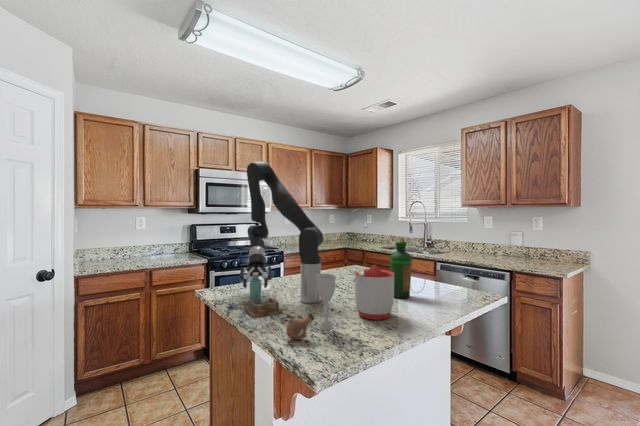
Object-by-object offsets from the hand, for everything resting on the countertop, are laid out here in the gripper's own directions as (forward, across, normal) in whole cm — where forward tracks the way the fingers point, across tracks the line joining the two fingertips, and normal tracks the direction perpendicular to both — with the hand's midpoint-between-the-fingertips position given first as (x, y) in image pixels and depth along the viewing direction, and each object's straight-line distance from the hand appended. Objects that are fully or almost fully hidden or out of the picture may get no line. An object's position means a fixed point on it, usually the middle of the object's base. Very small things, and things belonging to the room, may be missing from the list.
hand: (255, 287), depth 139 cm
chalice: (+28, +26, -18) cm, 43 cm away
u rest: (+14, +4, -4) cm, 15 cm away
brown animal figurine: (+35, +16, -25) cm, 46 cm away
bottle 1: (+4, 0, +6) cm, 7 cm away
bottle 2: (+4, +68, +6) cm, 69 cm away
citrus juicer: (+21, +46, -11) cm, 52 cm away
